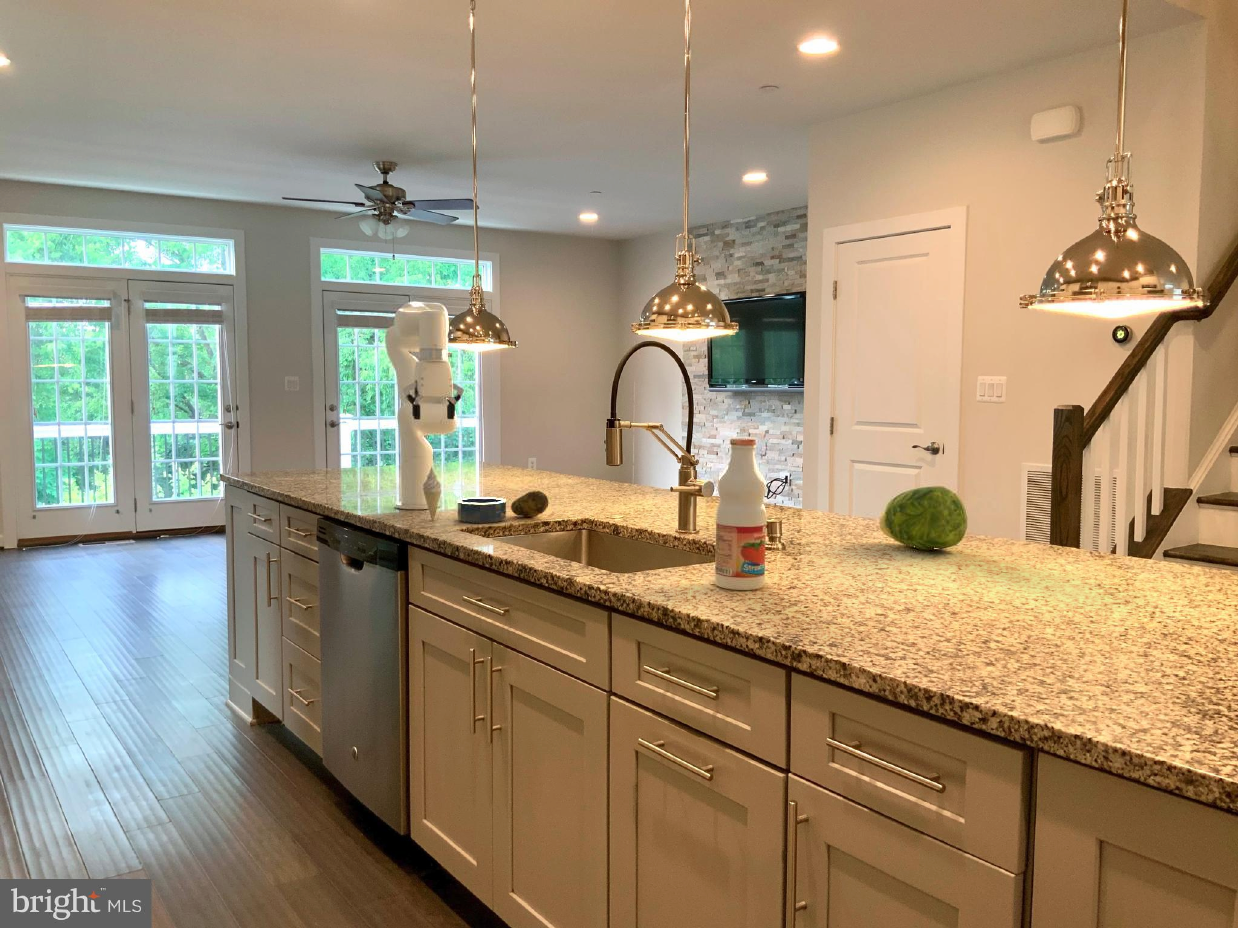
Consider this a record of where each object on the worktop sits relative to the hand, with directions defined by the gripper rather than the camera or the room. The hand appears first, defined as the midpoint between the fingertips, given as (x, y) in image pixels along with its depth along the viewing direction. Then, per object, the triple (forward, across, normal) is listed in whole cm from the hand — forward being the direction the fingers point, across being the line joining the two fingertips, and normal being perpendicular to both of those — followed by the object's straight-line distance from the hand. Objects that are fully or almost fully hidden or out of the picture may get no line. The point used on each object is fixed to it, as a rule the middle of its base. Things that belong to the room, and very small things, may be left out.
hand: (433, 419), depth 254 cm
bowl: (+28, -11, +6) cm, 31 cm away
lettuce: (+29, -84, +96) cm, 131 cm away
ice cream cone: (+28, 0, 0) cm, 28 cm away
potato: (+28, -25, +8) cm, 39 cm away
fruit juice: (+29, -19, +107) cm, 112 cm away
